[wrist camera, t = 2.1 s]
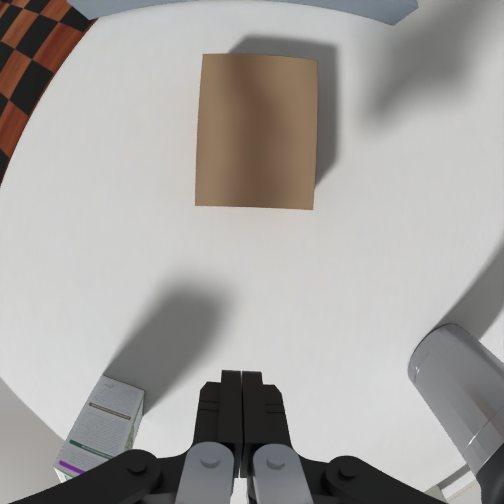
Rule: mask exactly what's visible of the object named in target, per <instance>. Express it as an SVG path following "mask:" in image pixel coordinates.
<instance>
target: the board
mask: <svg viewBox="0 0 504 504" xmlns="http://www.w3.org/2000/svg"><path fill="white" fill-rule="evenodd" d="M185 1H197V0H67V2H68V3H69V4H71V5H72V6H73V7H74V8H75V9H77V10H78V11H79V12H80V13H81V14H83V15H84V16H85V17H86V18H87V19H89V20H91V19H95V18H98V17H102V16H106V15H110V14H114V13H118V12H122V11H127V10H131V9H136V8H141V7H147V6H153V5H160V4H167V3H175V2H185ZM268 1H280V2H290V3H298V4H305V5H312V6H318V7H323V8H329V9H334V10H339V11H343V12H348V13H352V14H356V15H360V16H364V17H367V18H371V19H374V20H378V21H381V22H384V23H387V24H390V25H393V26H394V25H395V24H396V23H398V22H399V21H400V20H402V19H403V18H404V17H406V16H407V15H409V14H410V13H411V12H413V11H414V10H416V9H417V8H418V4H417V0H268Z"/></svg>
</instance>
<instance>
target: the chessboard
mask: <svg viewBox="0 0 504 504" xmlns="http://www.w3.org/2000/svg"><path fill="white" fill-rule="evenodd" d="M98 18H99V17H98ZM98 18H95V19H91V20H89V19H87V18H86V17H85V16H84V15H83V14H81V13H80V12H79V11H78V10H77V9H75V8H74V7H73V6H72V5H71V4H69V3H68V2H67V0H0V186H1V183H2V180H3V177H4V175H5V172H6V169H7V167H8V164H9V162H10V159H11V157H12V155H13V152H14V150H15V148H16V145H17V143H18V141H19V139H20V137H21V135H22V132H23V130H24V128H25V126H26V124H27V122H28V120H29V118H30V117H31V115H32V113H33V111H34V109H35V107H36V105H37V104H38V102H39V100H40V98H41V97H42V95H43V93H44V92H45V90H46V88H47V87H48V85H49V84H50V82H51V80H52V79H53V77H54V76H55V74H56V73H57V71H58V70H59V68H60V67H61V65H62V64H63V62H64V61H65V60H66V58H67V57H68V55H69V54H70V53H71V51H72V50H73V49H74V47H75V46H76V45H77V43H78V42H79V41H80V40H81V38H82V37H83V36H84V35H85V33H86V32H87V31H88V30H89V29H90V27H91V26H92V25H93V24H94V23H95V22H96V21H97V19H98Z"/></svg>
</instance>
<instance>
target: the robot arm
mask: <svg viewBox="0 0 504 504" xmlns="http://www.w3.org/2000/svg"><path fill="white" fill-rule="evenodd" d="M408 376H409V378H410V380H411V382H412V383H413V385H414V386H415V387H416V389H417V390H418V392H419V393H420V394H421V396H422V397H423V399H424V400H425V402H426V403H427V405H428V406H429V407H430V409H431V410H432V412H433V413H434V415H435V416H436V417H437V419H438V420H439V422H440V423H441V425H442V426H443V428H444V429H445V431H446V432H447V434H448V435H449V437H450V438H451V440H452V441H453V443H454V444H455V446H456V447H457V449H458V450H459V452H460V453H461V455H462V457H463V458H464V459H465V461H466V463H467V464H468V466H469V467H470V469H471V471H472V472H473V474H474V476H475V477H476V479H477V481H478V482H479V484H480V487H481V500H482V504H504V363H503V362H501V361H500V360H499V359H498V358H497V357H496V356H495V355H494V354H492V353H491V352H490V351H489V350H488V349H487V348H486V347H484V346H483V345H482V344H481V343H480V342H479V341H478V340H476V339H475V338H474V337H473V336H472V335H470V334H469V333H467V332H466V331H464V330H463V329H462V328H461V327H459V326H458V325H455V324H447V325H444V326H441V327H440V328H438V329H436V330H435V331H433V332H432V333H430V334H429V335H428V336H427V337H426V338H425V339H424V340H423V341H422V342H421V344H420V345H419V346H418V347H417V349H416V350H415V352H414V354H413V356H412V358H411V360H410V363H409V366H408ZM239 467H240V478H247V493H246V499H247V504H448V503H446V502H443V501H441V500H438V499H436V498H434V497H432V496H429V495H427V494H425V493H423V492H421V491H419V490H417V489H415V488H412V487H410V486H408V485H406V484H404V483H402V482H400V481H399V480H397V479H395V478H393V477H391V476H389V475H387V474H385V473H384V472H382V471H380V470H378V469H376V468H375V467H373V466H371V465H369V464H368V463H366V462H364V461H362V460H361V459H359V458H357V457H354V456H339V457H336V458H334V459H333V460H331V461H330V462H329V463H326V462H319V461H313V460H309V459H306V458H304V457H302V456H300V455H299V454H298V453H297V452H295V450H294V449H293V447H292V445H291V440H290V435H289V430H288V425H287V420H286V414H285V409H284V406H283V399H282V394H281V392H280V391H279V390H278V389H277V387H276V386H275V385H263V381H262V373H261V372H256V371H242V375H241V371H233V370H222V376H221V383H219V382H207V383H206V384H205V385H204V386H203V387H202V389H201V390H200V396H199V403H198V411H197V417H196V424H195V431H194V439H193V443H192V445H191V447H190V448H189V449H188V450H187V451H186V452H185V453H183V454H181V455H178V456H174V457H167V458H156V457H155V456H154V455H153V454H151V453H150V452H147V451H145V450H140V449H132V450H127V451H125V452H123V453H121V454H119V455H117V456H115V457H113V458H112V459H110V460H108V461H106V462H104V463H102V464H100V465H98V466H96V467H94V468H92V469H90V470H88V471H86V472H84V473H82V474H80V475H78V476H76V477H74V478H72V479H69V480H67V481H65V482H63V483H61V484H58V485H56V486H54V487H51V488H49V489H46V490H44V491H41V492H39V493H36V494H34V495H31V496H29V497H26V498H23V499H21V500H18V501H15V502H12V503H9V504H230V497H231V495H232V493H233V487H234V478H238V475H239Z"/></svg>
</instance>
